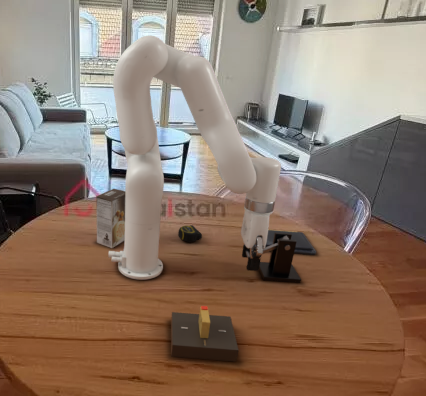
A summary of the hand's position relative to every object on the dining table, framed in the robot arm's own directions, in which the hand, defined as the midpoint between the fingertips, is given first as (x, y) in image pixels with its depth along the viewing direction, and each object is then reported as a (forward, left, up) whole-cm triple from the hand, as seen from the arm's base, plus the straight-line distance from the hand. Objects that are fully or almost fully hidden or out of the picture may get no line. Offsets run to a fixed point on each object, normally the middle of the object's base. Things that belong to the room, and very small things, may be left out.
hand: (249, 262), depth 103 cm
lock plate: (-16, -29, -3) cm, 33 cm away
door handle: (+5, 0, +4) cm, 6 cm away
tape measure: (-16, +18, -3) cm, 24 cm away
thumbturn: (-16, -29, 0) cm, 33 cm away
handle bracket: (+8, 0, -3) cm, 9 cm away
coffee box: (-41, +13, -3) cm, 43 cm away
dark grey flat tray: (+14, +20, -3) cm, 25 cm away
